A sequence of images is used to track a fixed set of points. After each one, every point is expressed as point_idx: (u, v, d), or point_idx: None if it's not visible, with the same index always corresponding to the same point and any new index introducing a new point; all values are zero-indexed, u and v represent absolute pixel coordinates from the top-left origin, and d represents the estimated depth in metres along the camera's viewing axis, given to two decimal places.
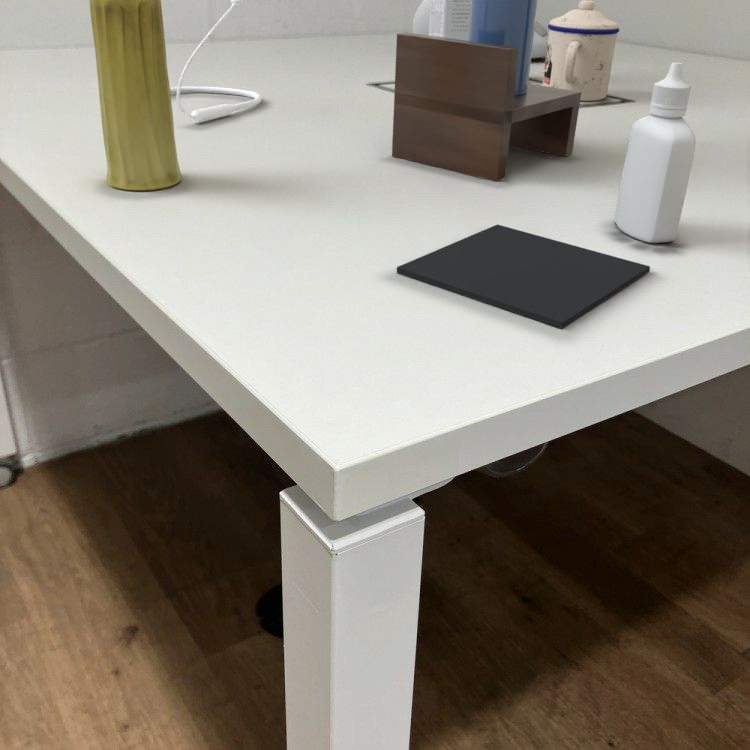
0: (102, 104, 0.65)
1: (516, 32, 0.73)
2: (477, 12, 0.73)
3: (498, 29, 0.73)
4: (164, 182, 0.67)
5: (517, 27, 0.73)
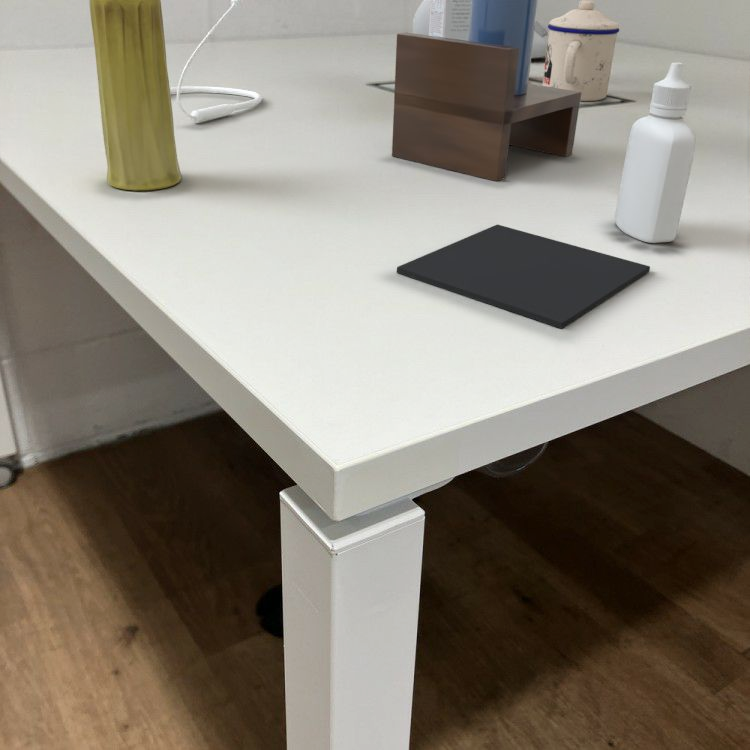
0: (102, 104, 0.65)
1: (516, 32, 0.73)
2: (477, 12, 0.73)
3: (498, 29, 0.73)
4: (164, 182, 0.67)
5: (517, 27, 0.73)
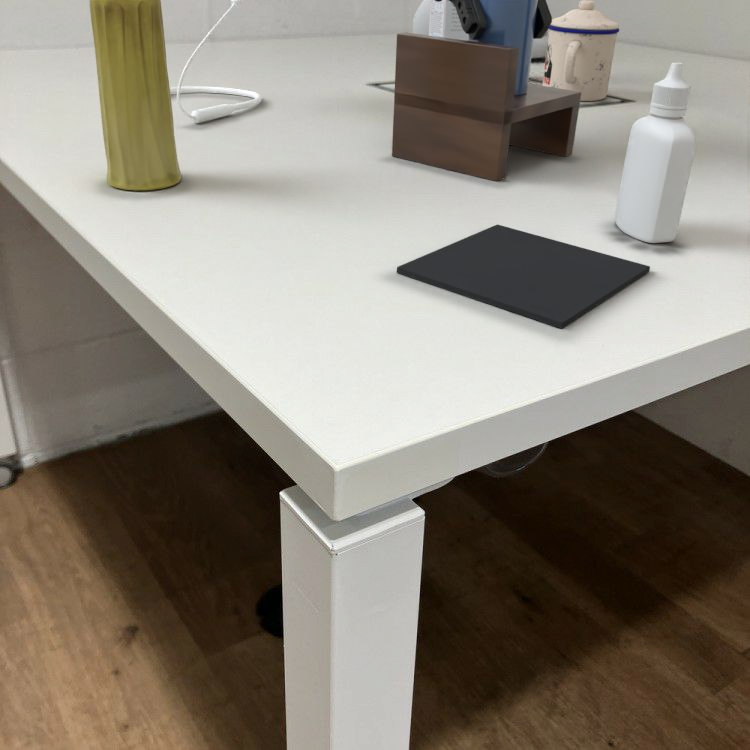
0: (102, 104, 0.65)
1: (516, 32, 0.73)
2: None
3: (498, 29, 0.73)
4: (164, 182, 0.67)
5: (517, 27, 0.73)
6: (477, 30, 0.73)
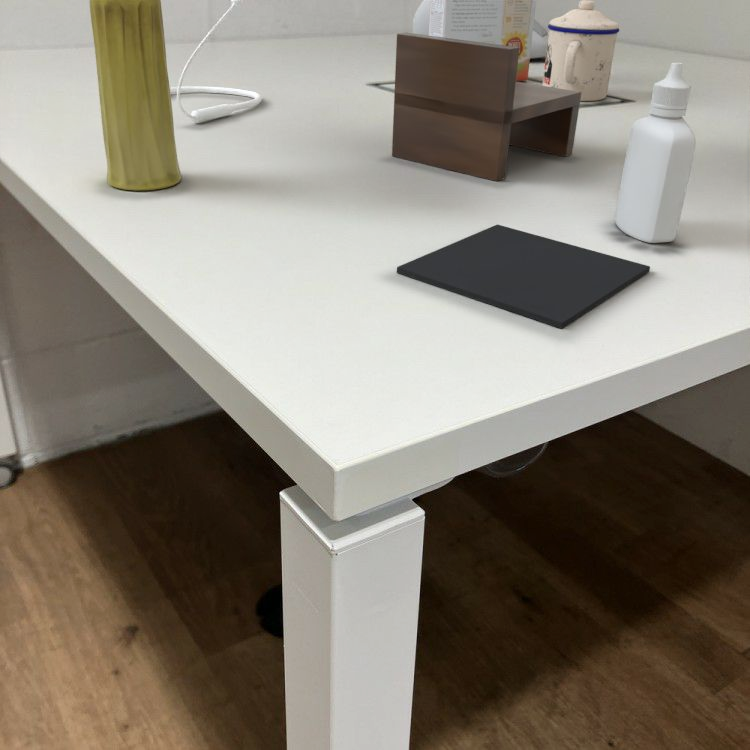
0: (102, 104, 0.65)
1: None
2: None
3: None
4: (164, 182, 0.67)
5: None
6: None
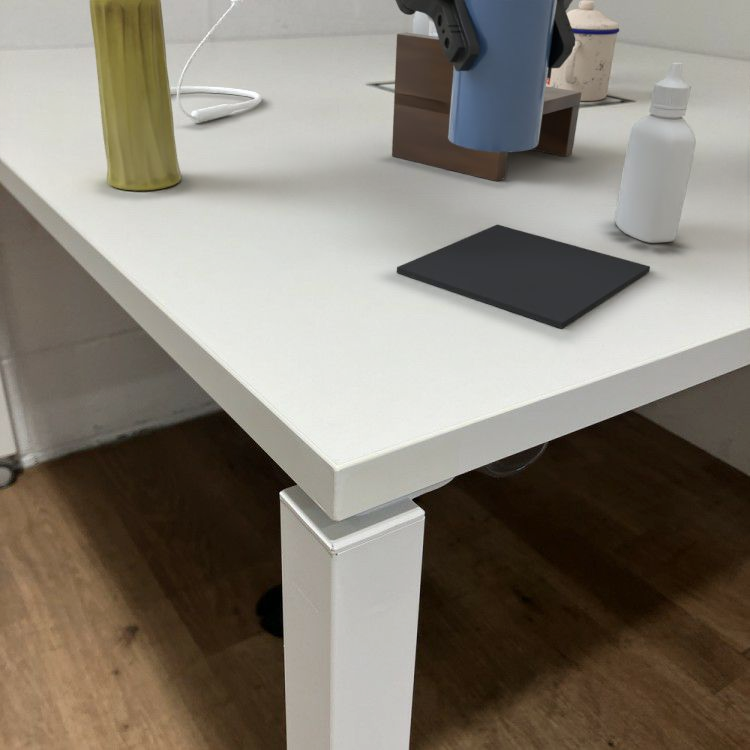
0: (102, 104, 0.65)
1: (524, 61, 0.49)
2: None
3: (496, 56, 0.49)
4: (164, 182, 0.67)
5: (525, 53, 0.49)
6: (466, 58, 0.49)
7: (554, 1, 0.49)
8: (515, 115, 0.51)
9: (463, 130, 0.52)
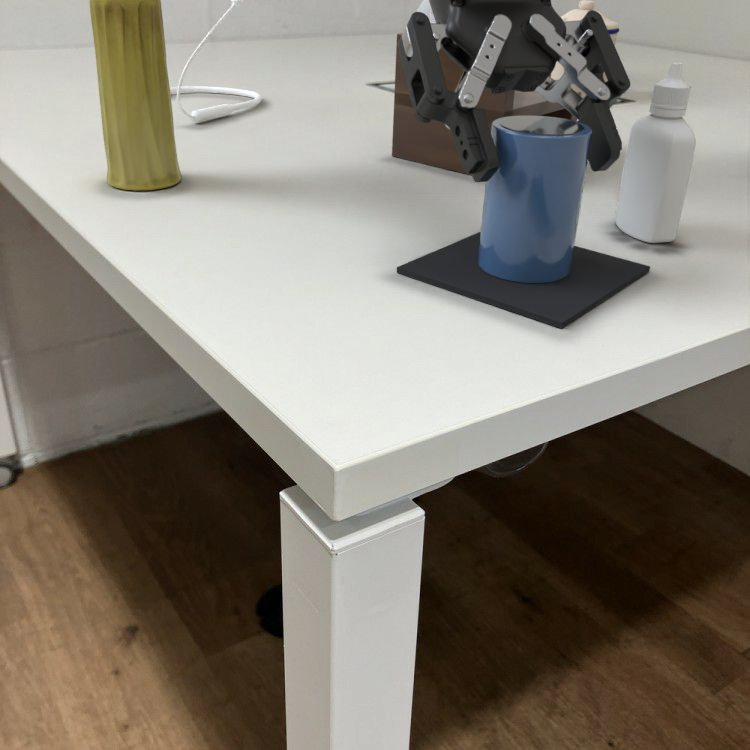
0: (102, 104, 0.65)
1: (558, 197, 0.48)
2: None
3: (531, 193, 0.48)
4: (164, 182, 0.67)
5: (560, 190, 0.48)
6: (485, 171, 0.47)
7: (589, 137, 0.48)
8: (548, 249, 0.50)
9: (494, 260, 0.51)
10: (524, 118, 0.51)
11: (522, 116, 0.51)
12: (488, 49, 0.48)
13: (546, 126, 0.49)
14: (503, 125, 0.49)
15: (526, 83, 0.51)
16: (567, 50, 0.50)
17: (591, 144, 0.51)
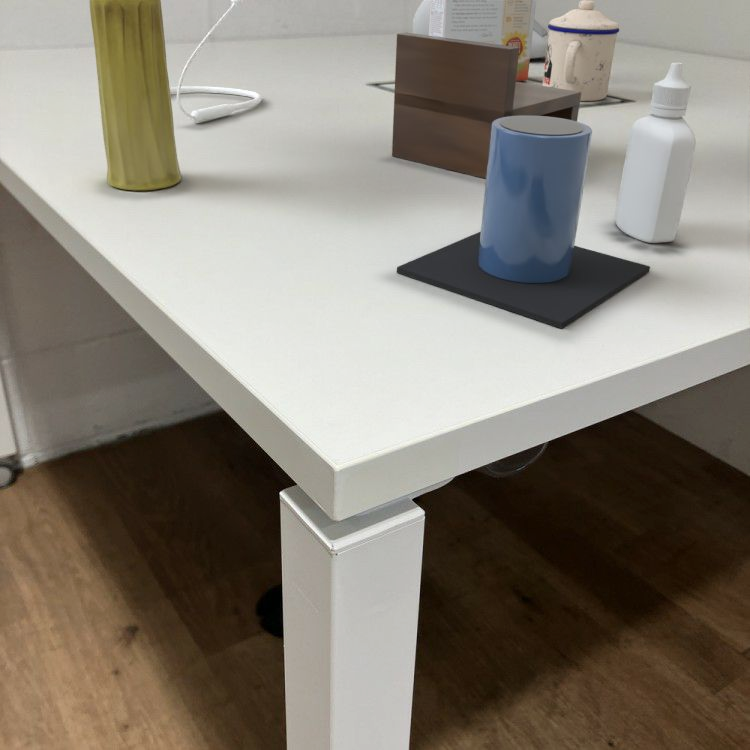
0: (102, 104, 0.65)
1: (558, 197, 0.48)
2: (498, 165, 0.49)
3: (531, 193, 0.48)
4: (164, 182, 0.67)
5: (560, 190, 0.48)
6: None
7: (589, 137, 0.48)
8: (548, 249, 0.50)
9: (494, 260, 0.51)
10: (524, 118, 0.51)
11: (522, 116, 0.51)
12: None
13: (546, 126, 0.49)
14: (503, 125, 0.49)
15: None
16: None
17: None
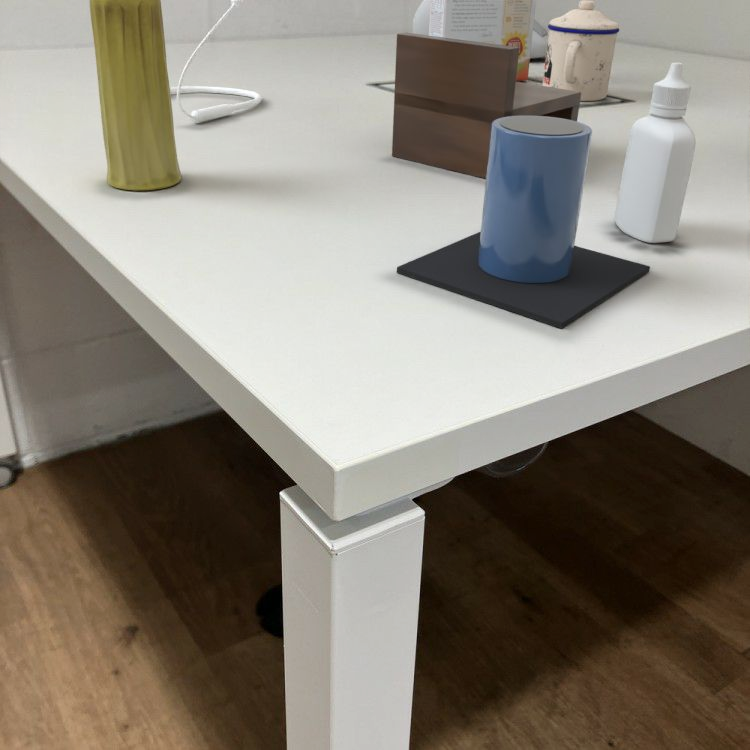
0: (102, 104, 0.65)
1: (558, 197, 0.48)
2: (498, 165, 0.49)
3: (531, 193, 0.48)
4: (164, 182, 0.67)
5: (560, 190, 0.48)
6: None
7: (589, 137, 0.48)
8: (548, 249, 0.50)
9: (494, 260, 0.51)
10: (524, 118, 0.51)
11: (522, 116, 0.51)
12: None
13: (546, 126, 0.49)
14: (503, 125, 0.49)
15: None
16: None
17: None
